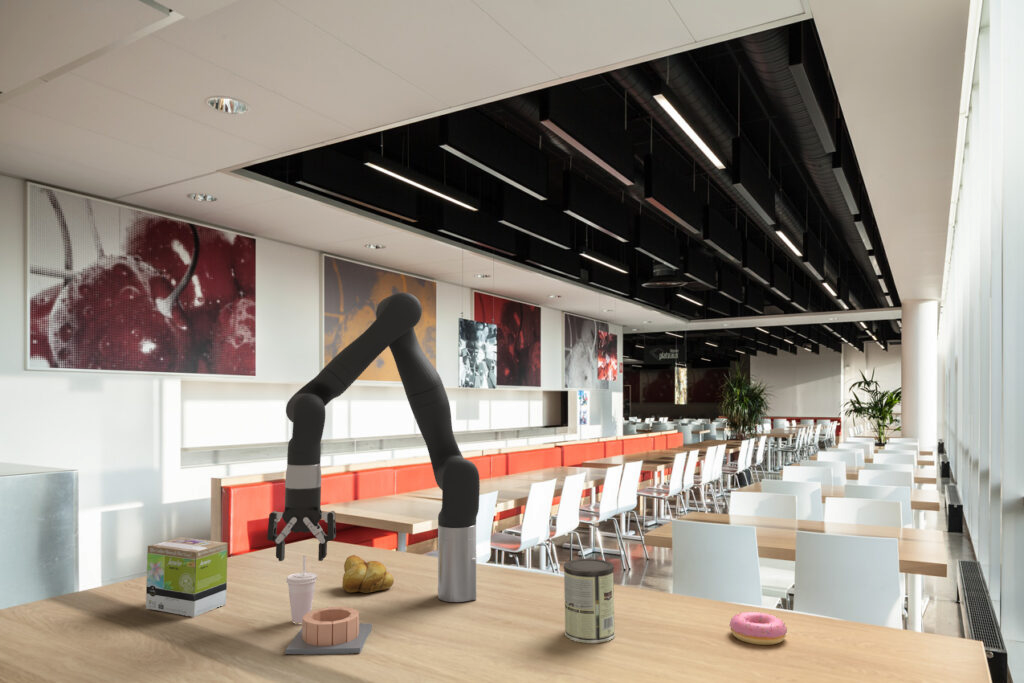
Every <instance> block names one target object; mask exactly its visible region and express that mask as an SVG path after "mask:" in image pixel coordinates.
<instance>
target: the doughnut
mask: <svg viewBox="0 0 1024 683" xmlns="http://www.w3.org/2000/svg"><path fill="white" fill-rule="evenodd" d="M729 628H730V631H731V634H732V635H733V636H734V637H735V638H736V639H738V640H739V641H741V642H744V643H747V644H751V645H757V646H758V645H759V646H773V645H777V644H780V643H781V642H783V641H784V640H785V638H786V637H787V636H786V634H787V633H788V628H787V626H786V623H785V622H783V620H782V619H780V618H779V617H777V616H775V615H772V614H770V613H769V614H768V613H766V612H765V613H764V612H759V611H745V612H744V611H743V612H739V613H736V614H735V615H733V616H732V617H731V618H730V621H729Z"/></svg>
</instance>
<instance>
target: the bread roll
mask: <svg viewBox="0 0 1024 683" xmlns="http://www.w3.org/2000/svg"><path fill="white" fill-rule="evenodd" d="M343 569H344V573H343V575H342V576H343V577H342V584H341V586H342V589H344V590H345V591H346V592H347V593H358V592H360V593H362V594H363V593H364V594H365V593H366V594H367V593H373V592H377V591H378V592H379V591H384V590H387V589H390V588H391V587H392V586H393V585H394V582H395V581H394V577H393V575H392V574H391V573H390V572H388V571H387V567H386V565H384V563H382V562H380V561H377V560H370V561H367V562H366V560H364V559H362V558H361V557H360V556H358V555H355V554H353V555H349V556H348V557H346V560H345V561H344V564H343Z"/></svg>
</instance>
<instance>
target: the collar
mask: <svg viewBox="0 0 1024 683" xmlns="http://www.w3.org/2000/svg"><path fill="white" fill-rule="evenodd" d="M301 625H302V627H301V628H300V630H299V631H298V632H297V634H296V635H295V636H294V638H292V640H291V641H290V643H289V644H288V646H287V647H286V648H285V654H304V655H305V656H306V655H348V654H349V655H352V654H353V653H360V654H361V652H362V651H363V648H364V646H365V644H366V642H365V641H367V640H368V638H367V637H369V635H370V633H371V631H372V629H373V622H372V623H371V622H370V623H360V612H359V611H358V610H357V609H356V608H354V607H353V608H352V607H349V606H348V607H346V606H329V607H322V608H317V609H314V610H311V612H308V613H307V614H305V615H304V617H303V618H302V624H301ZM371 628H372V629H371ZM366 639H367V640H366ZM364 643H365V644H364ZM363 645H364V646H363ZM350 653H351V654H350ZM304 655H303V656H304ZM353 655H354V654H353Z"/></svg>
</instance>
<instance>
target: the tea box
mask: <svg viewBox="0 0 1024 683" xmlns="http://www.w3.org/2000/svg"><path fill="white" fill-rule="evenodd" d="M228 544H229V543H228V542H224V541H223V542H222V541H217V540H208V539H200V538H199V539H197V538H191V537H184V536H183V537H181V536H180V537H176V538H173V539H170V540H167V541H162V542H159V543H155V544H150V545H147V550H146V551H147V554H146V560H147V562H146V587H145V588H146V593H145V595H146V596H145V609H146V610H153V611H158V612H159V611H160V612H164V613H169V614H175V615H179V614H180V615H179V616H184V615H185V616H184V617H188V616H191V617H190V618H193V617H194V618H196V617H195V616H197V615H199V616H201V615H200V614H202V613H204V614H206V613H205V612H207V611H209V610H212V609H214V608H217V607H219V608H221V607H220V606H222V605H224V606H226V605H227V587H228V586H227V585H228V584H227V582H228ZM225 604H226V605H225ZM222 607H223V606H222ZM217 609H218V608H217ZM212 611H213V610H212ZM209 612H210V611H209ZM207 613H208V612H207ZM202 615H203V614H202ZM197 617H198V616H197Z"/></svg>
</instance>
